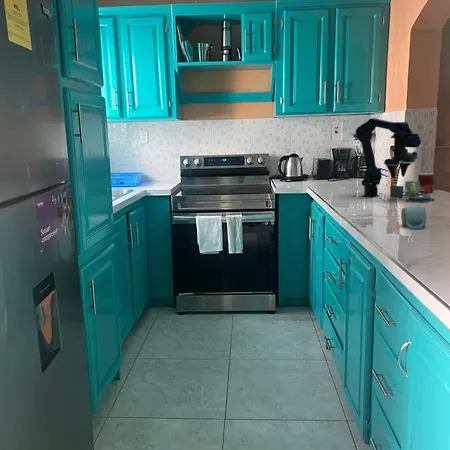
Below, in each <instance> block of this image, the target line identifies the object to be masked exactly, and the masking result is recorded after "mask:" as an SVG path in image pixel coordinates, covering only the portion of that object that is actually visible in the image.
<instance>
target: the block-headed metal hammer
mask: <svg viewBox="0 0 450 450" xmlns="http://www.w3.org/2000/svg"><path fill="white" fill-rule="evenodd" d="M389 191H390V192H389V194H390V198H393V199H394V198H396V199H403V198H404V196H403V195H404V194H405V193H407V192H410V189H404V186H403V185H390V190H389Z"/></svg>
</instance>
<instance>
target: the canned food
mask: <svg viewBox="0 0 450 450" xmlns="http://www.w3.org/2000/svg"><path fill="white" fill-rule="evenodd" d="M434 177H435V174H434V173H433V172H420V173H418V177H417V178H418V179H417V181H420V190H419V193H423V194H428V195H430V194H433V193H434V182H435V181H434V180H435V179H434Z"/></svg>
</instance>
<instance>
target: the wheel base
mask: <svg viewBox="0 0 450 450" xmlns="http://www.w3.org/2000/svg"><path fill="white" fill-rule="evenodd" d="M404 201H405V202H411V203H412V202H413V203H419V204H421V203H422V204H425V203H430V202H434V201H435V198H434V197H433V198H432V197H431V198H430V199H426V200H415V199H409V198H405V199H404Z"/></svg>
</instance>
